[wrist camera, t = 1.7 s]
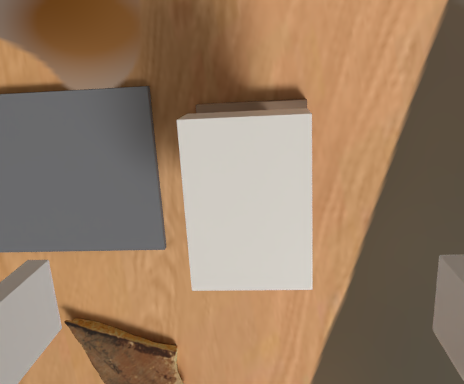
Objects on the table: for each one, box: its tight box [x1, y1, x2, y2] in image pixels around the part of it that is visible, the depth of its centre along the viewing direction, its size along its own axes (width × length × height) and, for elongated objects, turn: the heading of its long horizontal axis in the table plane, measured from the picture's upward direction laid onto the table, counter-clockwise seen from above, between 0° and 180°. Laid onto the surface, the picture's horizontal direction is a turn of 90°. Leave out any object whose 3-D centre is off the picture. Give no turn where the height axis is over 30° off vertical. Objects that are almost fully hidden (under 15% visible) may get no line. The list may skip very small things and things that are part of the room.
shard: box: [65, 318, 183, 384], centre depth 38 cm, size 11×8×2 cm
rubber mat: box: [0, 86, 166, 252], centre depth 34 cm, size 16×13×1 cm
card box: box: [177, 108, 312, 291], centre depth 25 cm, size 10×7×3 cm
